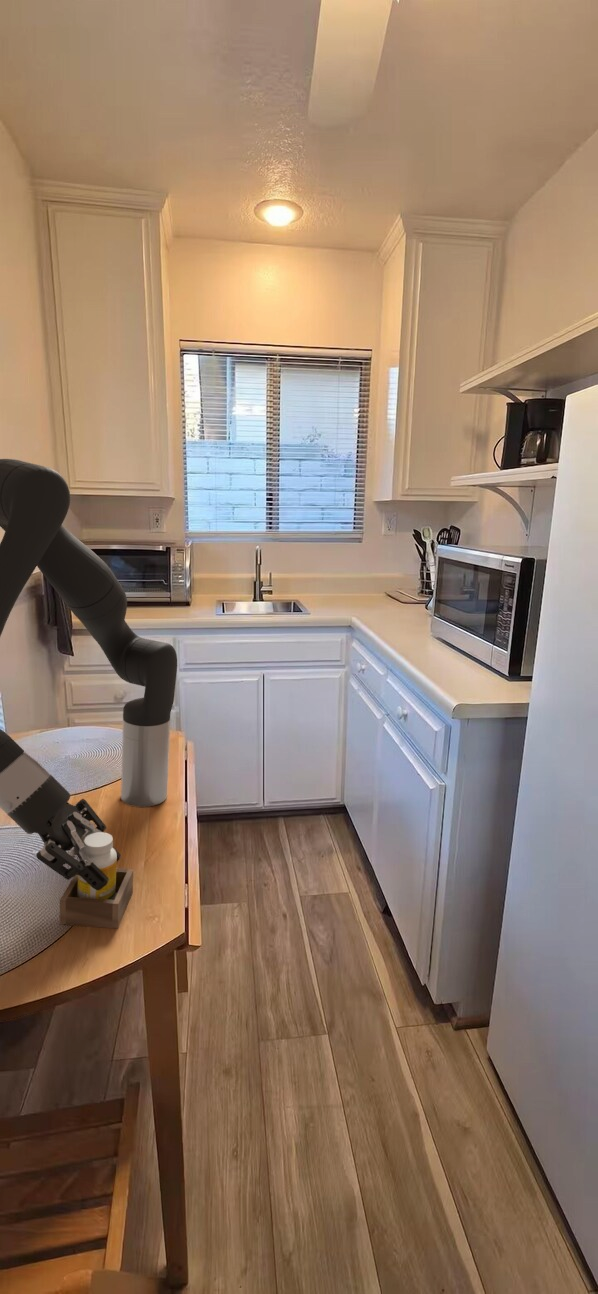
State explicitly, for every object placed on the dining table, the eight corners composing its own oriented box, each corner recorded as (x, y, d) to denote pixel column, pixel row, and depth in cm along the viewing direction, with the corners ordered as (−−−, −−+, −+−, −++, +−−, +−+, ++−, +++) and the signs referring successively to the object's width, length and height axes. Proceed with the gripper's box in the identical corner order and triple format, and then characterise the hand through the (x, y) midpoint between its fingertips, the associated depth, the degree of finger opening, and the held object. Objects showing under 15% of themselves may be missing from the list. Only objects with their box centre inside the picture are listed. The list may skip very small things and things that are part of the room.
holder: (79, 888, 92) (80, 865, 91) (132, 892, 92) (133, 869, 92) (59, 924, 84) (59, 899, 83) (117, 928, 84) (118, 903, 84)
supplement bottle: (73, 908, 85) (73, 849, 83) (82, 885, 90) (83, 828, 88) (111, 909, 86) (113, 850, 83) (118, 886, 91) (120, 830, 89)
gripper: (24, 800, 76) (114, 889, 80) (65, 756, 90) (141, 832, 94) (-17, 834, 77) (74, 920, 81) (30, 785, 91) (106, 859, 95)
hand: (109, 872), depth 87 cm, fingers closed on supplement bottle, 5 cm apart
